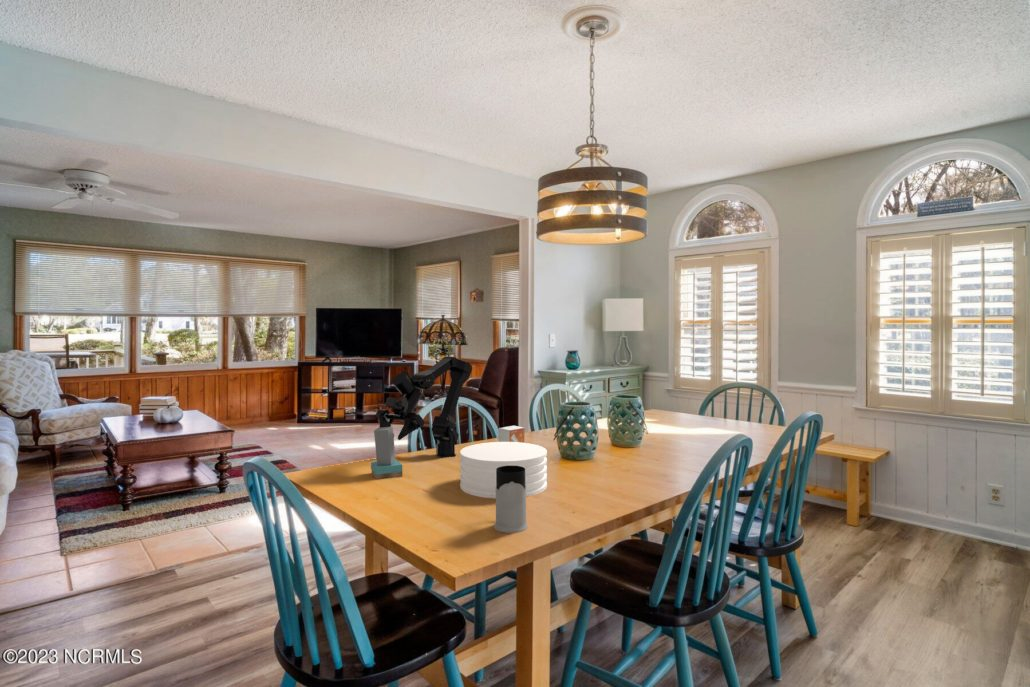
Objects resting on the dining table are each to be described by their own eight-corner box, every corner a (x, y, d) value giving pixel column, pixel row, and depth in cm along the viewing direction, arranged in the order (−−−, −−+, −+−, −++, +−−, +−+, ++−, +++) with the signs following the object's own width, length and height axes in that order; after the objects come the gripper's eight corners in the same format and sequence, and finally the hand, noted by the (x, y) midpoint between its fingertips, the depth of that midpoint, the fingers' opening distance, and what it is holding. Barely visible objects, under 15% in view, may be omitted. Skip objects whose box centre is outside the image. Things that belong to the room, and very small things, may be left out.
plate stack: (491, 470, 204) (490, 438, 204) (561, 481, 190) (561, 447, 189) (442, 490, 180) (442, 454, 180) (519, 504, 166) (519, 465, 165)
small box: (509, 465, 211) (509, 430, 210) (498, 462, 216) (497, 427, 215) (525, 461, 217) (524, 427, 216) (513, 458, 221) (513, 425, 221)
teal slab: (396, 465, 204) (396, 459, 204) (402, 471, 196) (402, 464, 196) (370, 468, 200) (370, 461, 200) (376, 474, 192) (375, 467, 192)
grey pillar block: (395, 460, 200) (392, 426, 199) (391, 464, 195) (388, 429, 194) (381, 461, 201) (378, 427, 200) (377, 465, 196) (374, 430, 195)
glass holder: (494, 533, 143) (494, 474, 142) (492, 514, 157) (492, 460, 156) (529, 532, 143) (529, 473, 143) (524, 513, 158) (523, 459, 157)
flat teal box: (397, 472, 204) (397, 465, 204) (402, 478, 196) (402, 471, 196) (371, 475, 201) (371, 468, 201) (375, 481, 192) (375, 474, 192)
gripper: (378, 387, 208) (356, 422, 199) (418, 390, 198) (397, 426, 189) (394, 405, 215) (373, 440, 206) (433, 409, 205) (413, 445, 196)
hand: (388, 437), depth 199 cm, fingers open, 9 cm apart
